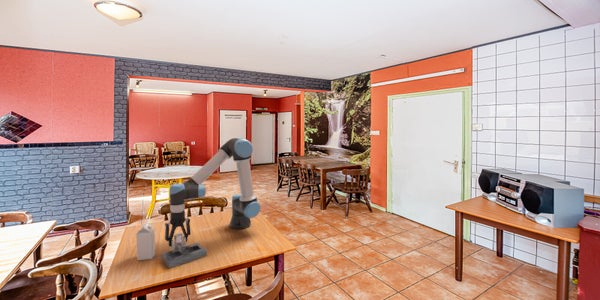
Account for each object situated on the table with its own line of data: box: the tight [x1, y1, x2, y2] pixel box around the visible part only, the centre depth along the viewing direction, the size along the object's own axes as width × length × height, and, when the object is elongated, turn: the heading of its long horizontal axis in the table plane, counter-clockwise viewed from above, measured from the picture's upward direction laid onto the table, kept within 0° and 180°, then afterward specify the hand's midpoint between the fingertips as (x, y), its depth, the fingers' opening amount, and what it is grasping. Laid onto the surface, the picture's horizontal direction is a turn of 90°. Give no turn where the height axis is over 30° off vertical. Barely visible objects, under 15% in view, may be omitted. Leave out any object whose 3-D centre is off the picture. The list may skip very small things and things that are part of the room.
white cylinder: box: [173, 232, 183, 250], centre depth 155 cm, size 4×4×9 cm
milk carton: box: [135, 221, 156, 261], centre depth 145 cm, size 7×7×19 cm
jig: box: [161, 242, 208, 269], centre depth 146 cm, size 20×12×4 cm, turn 134°
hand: (178, 249), depth 155 cm, fingers open, 6 cm apart
